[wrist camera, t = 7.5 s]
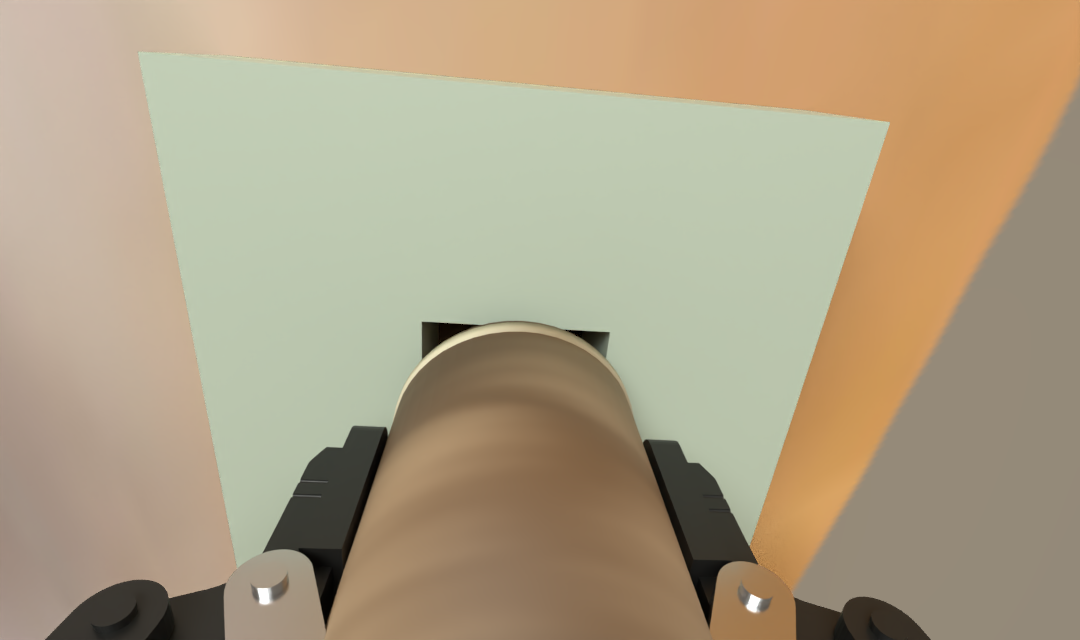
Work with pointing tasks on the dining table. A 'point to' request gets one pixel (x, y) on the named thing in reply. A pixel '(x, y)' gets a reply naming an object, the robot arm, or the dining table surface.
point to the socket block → (492, 251)
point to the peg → (515, 505)
